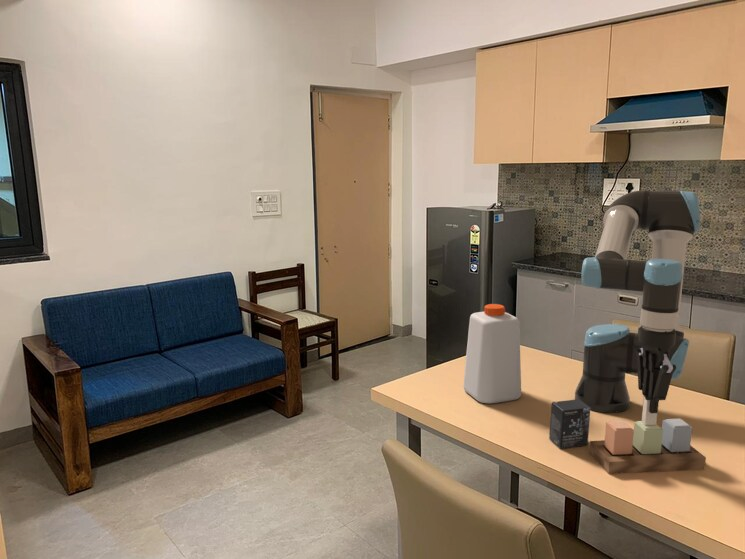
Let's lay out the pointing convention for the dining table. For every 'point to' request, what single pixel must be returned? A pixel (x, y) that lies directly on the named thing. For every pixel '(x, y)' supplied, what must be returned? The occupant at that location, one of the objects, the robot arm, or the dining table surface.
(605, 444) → the salmon pink block
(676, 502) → the dining table surface
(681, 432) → the slate button
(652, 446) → the sage button
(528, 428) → the dining table surface
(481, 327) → the plastic bottle
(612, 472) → the wooden tray
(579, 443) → the box
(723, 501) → the dining table surface
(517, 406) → the dining table surface
